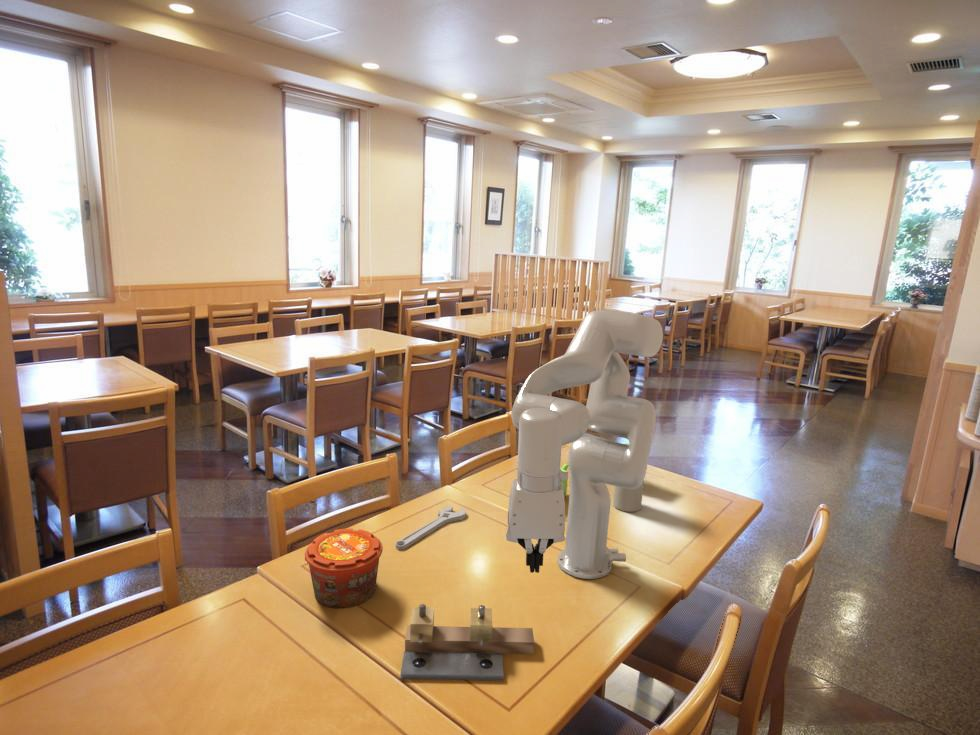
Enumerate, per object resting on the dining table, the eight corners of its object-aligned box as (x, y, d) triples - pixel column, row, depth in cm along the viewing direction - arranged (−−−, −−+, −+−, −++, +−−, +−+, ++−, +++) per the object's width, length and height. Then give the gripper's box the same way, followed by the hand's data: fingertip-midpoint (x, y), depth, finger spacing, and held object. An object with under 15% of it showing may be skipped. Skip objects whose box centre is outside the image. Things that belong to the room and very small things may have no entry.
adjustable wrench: (401, 553, 143) (401, 546, 143) (383, 543, 147) (383, 537, 147) (469, 516, 162) (469, 510, 162) (452, 509, 166) (452, 503, 166)
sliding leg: (491, 624, 114) (492, 599, 113) (492, 650, 107) (493, 624, 105) (470, 623, 114) (471, 598, 112) (469, 650, 107) (470, 623, 105)
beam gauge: (531, 637, 115) (533, 600, 113) (535, 664, 108) (537, 625, 106) (407, 635, 114) (408, 597, 112) (403, 662, 107) (403, 622, 105)
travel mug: (644, 505, 172) (650, 447, 168) (635, 515, 166) (641, 455, 162) (618, 497, 177) (624, 441, 172) (608, 507, 170) (614, 448, 166)
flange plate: (501, 658, 109) (502, 653, 109) (503, 680, 104) (503, 675, 103) (404, 656, 108) (404, 651, 108) (400, 678, 103) (400, 673, 103)
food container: (290, 601, 123) (288, 555, 120) (336, 562, 137) (335, 520, 135) (355, 622, 117) (354, 574, 115) (396, 579, 132) (396, 536, 129)
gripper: (576, 469, 108) (571, 556, 113) (495, 468, 108) (493, 556, 113) (584, 488, 101) (577, 581, 106) (496, 487, 100) (494, 580, 105)
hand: (534, 568), depth 109 cm, fingers closed
